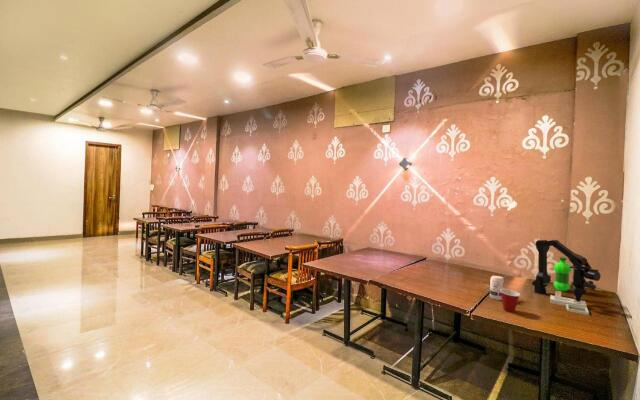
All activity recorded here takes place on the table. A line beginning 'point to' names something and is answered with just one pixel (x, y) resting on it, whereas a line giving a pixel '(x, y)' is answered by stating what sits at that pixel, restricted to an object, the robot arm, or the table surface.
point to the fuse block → (566, 301)
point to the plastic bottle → (562, 275)
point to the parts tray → (577, 308)
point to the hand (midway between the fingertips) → (577, 300)
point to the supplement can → (496, 287)
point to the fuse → (557, 295)
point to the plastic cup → (509, 299)
